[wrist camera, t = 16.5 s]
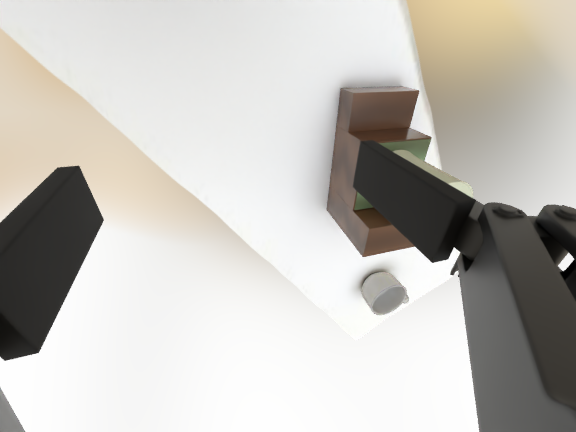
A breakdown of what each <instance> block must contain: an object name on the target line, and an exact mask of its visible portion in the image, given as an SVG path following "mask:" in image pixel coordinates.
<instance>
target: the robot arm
mask: <svg viewBox="0 0 576 432" xmlns="http://www.w3.org/2000/svg"><path fill="white" fill-rule="evenodd" d="M353 188H354V189H355V190H356V191H357V192H358V193H359V194H360V195H362V196H363V197H364V198H365V199H366V200H367V201H368V202H369V203H370V204H371V205H372V206H373V207H374V208H375V209H376V210H377V211H378V212H379V213H380V214H382V215H383V216H384V217H385V218H386V219H387V220H388V221H389V222H390V223H391V224H392V225H393V226H394V227H395V228H396V229H397V230H398V231H399V232H400V233H401V234H403V235H404V236H405V237H406V238H407V239H408V240H409V241H410V242H411V243H412V244H413V245H414V246H415V247H416V248H417V249H418V250H419V251H420V252H421V253H422V254H424V255H425V256H426V257H427V258H428V259H429V260H430V261H431V262H432V263H434V262H438V261H442V260H447V259H448V258H449V256H450V254H451V252H452V250H453V248H454V247H455V248H456V249H457V250H458V251H460V252H461V253H460V255H459V256H458V258H457V260H456V262H455V264H454V266H453V268H452V270H451V274H450V275H454V273H455V272H456V271H458V270H459V275H458V277H459V278H460V286H461V293H462V301H463V309H464V316H465V324H466V331H467V339H468V346H469V355H470V363H471V370H472V378H473V385H474V393H475V401H476V408H477V416H478V424H479V432H576V209H574V208H571V207H567V206H564V205H562V206H559V205H546V206H544V207H543V209H542V210H541V212H540V213H539V215H538V216H527V215H526V214H525V213H524V212H523V211H522V210H519V209H517V208H515V207H512V206H510V205H506V204H502V203H487V204H485V205H483V204H481V203H480V202H478V201H476V200H475V199H473V198H472V197H470V196H468V195H466V194H465V193H463V192H461V191H460V190H458V189H456V188H454V187H453V186H451V185H449V184H448V183H446V182H444V181H442V180H441V179H439V178H437V177H436V176H434V175H432V174H430V173H429V172H427V171H425V170H423V169H422V168H420V167H418V166H417V165H415V164H413V163H411V162H410V161H408V160H406V159H405V158H403V157H401V156H399V155H398V154H396V153H394V152H393V151H391V150H389V149H387V148H386V147H384V146H382V145H380V144H379V143H377V142H375V141H374V140H368V141H360V146H359V152H358V157H357V163H356V169H355V175H354V181H353ZM103 221H104V220H103V217H102V215H101V213H100V211H99V208H98V206H97V204H96V202H95V200H94V198H93V195H92V193H91V191H90V189H89V187H88V184H87V182H86V180H85V178H84V176H83V174H82V171H81V169H80V167H79V166H71V167H60V168H57V169H56V170H55V171H54V172H53V173H52V174H50V176H49V177H48V178H46V179H45V180H44V181H43V182H42V183H41V184H40V185H39V186H38V187H37V188H36V189H35V190H34V191H33V192H32V193H31V194H30V195H29V196H28V197H27V198H25V199H24V200H23V201H22V202H21V203H20V204H19V205H18V206H17V207H16V208H15V209H14V210H13V211H12V212H11V213H10V214H9V215H8V216H7V217H6V218H5V219H4V220H3V221H2V222H1V223H0V357H1V358H2V359H4V360H10V359H14V358H18V357H23V356H27V355H32V354H36V353H39V351H40V349H41V347H42V345H43V343H44V341H45V339H46V337H47V334H48V333H49V330H50V328H51V327H52V325H53V322H54V320H55V318H56V316H57V314H58V312H59V310H60V308H61V306H62V304H63V302H64V300H65V298H66V296H67V294H68V292H69V290H70V288H71V286H72V284H73V282H74V280H75V278H76V276H77V274H78V271H79V270H80V268H81V265H82V263H83V261H84V259H85V257H86V255H87V253H88V251H89V249H90V247H91V245H92V243H93V241H94V239H95V237H96V235H97V233H98V231H99V229H100V227H101V225H102V223H103ZM568 252H569V253H570V254H571V255H572V256H573V258H574V261H573V262H572V263H571V264H570V265H569V267H568V268H567V269H566V270H564V271H562V270H561V269H560V268H559V267H558V265H559V264H560V262H561V261H562V260H563V258H564V257H565V256H566V255H567V254H568ZM0 432H25V431H24V429H23V427H22V425H21V424H20V422H19V420H18V418H17V416H16V415H15V413H14V411H13V410H12V408H11V406H10V404H9V402H8V401H7V399H6V397H5V395H4V394H3V392H2V390H1V388H0Z"/></svg>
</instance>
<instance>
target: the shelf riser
mask: <svg viewBox="0 0 576 432" xmlns="http://www.w3.org/2000/svg"><path fill="white" fill-rule="evenodd" d="M418 94H419V90H415V89H411V88H406V87H370V88H341V91H340V100H339V109H338V117H337V126H336V134H335V143H334V152H333V160H332V169H331V178H330V187H329V195H328V204H327V211H328V212H329V213H330V215H331V216H332V217H333V219H334V220H335V221H336V223H337V224H338V225H339V226H340V228H341V229H342V230H343V232H344V233H345V234H346V236H347V237H348V238H349V240H350V241H351V242H352V243H353V245H354V246H355V247H356V249H357V250H358V251H359V253H360V254H361V255H362V257H366V256H371V255H376V254H380V253H385V252H390V251H395V250H400V249H405V248H410V247H414V245H413V244H412V243H411V242H410V241H409V240H408V239H407V238H406V237H405V236H404V235H403V234H401V233H400V232H399V231H398V230H397V229H396V228H395V227H394V226H393V225H392V224H391V223H390V222H389V221H388V220H387V219H386V218H385V217H384V216H383V215H382V214H380V213H379V212H378V211H377V210H376V209H375V208H374V207H373V206H372V205H371V204H370V203H369V202H368V201H367V200H366V199H365V198H364V197H363V196H362V195H360V194H359V193H358V192H357V191H356V190H355V189H354V188H353V181H354V175H355V169H356V163H357V157H358V152H359V146H360V141H368V140H374V141H375V142H377V143H379V144H380V145H382V146H384V147H386V148H387V149H389V150H391V151H395V150H406V151H409V152H411V153H412V154H413V155H414V156H416V157H417V158H419V159H421V160H423V161H424V160H425V157H426V154H427V151H428V147H429V144H430V141H431V138H432V137H430V136H427V135H425V134H423V133H420V132H418V131H416V130H413V129H411V128H409V127H410V124H411V120H412V116H413V113H414V109H415V105H416V101H417V98H418Z"/></svg>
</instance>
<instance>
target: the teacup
mask: <svg viewBox="0 0 576 432" xmlns="http://www.w3.org/2000/svg"><path fill="white" fill-rule="evenodd" d="M362 295H363V298H364V299H365V301H366V303H367V304H368V306H369V307H370V308H371V311H372V312H373V313H374V314H376V315H384V314H388V313H390V312H392V311H394V310H395V309H397V308H398V307H399V306H400V305H401V304H402V303H407V302H408V301H409V297H408V296H407V290H406V288H405V287H404V286H402V285H401V283H400V282H399V281H398V280H397V279H396V278H395V277H394V276H392V275H391V274H389V273H386V272H378V273H374V274H372V275H370V276H369V277H368V278H367V279H366V280H365V282H364V284H363V286H362Z"/></svg>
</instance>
